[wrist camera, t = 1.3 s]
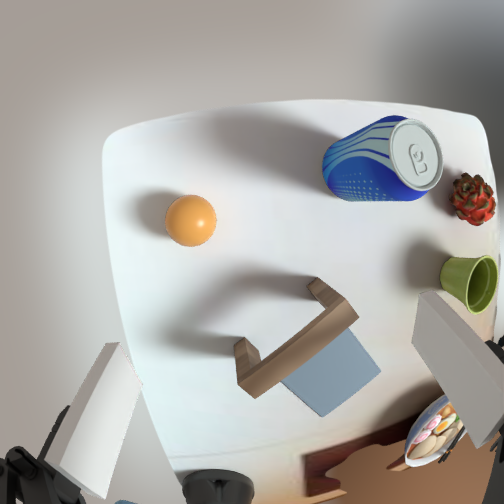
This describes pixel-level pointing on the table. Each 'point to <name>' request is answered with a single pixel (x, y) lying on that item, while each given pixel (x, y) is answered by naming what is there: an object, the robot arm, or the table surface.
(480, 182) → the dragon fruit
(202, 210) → the ball
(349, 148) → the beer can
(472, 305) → the plant pot
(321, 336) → the bridge
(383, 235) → the table surface
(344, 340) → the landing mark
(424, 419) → the ramen bowl
